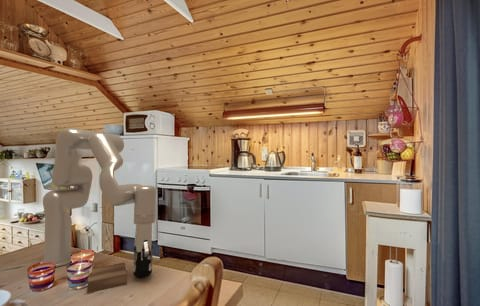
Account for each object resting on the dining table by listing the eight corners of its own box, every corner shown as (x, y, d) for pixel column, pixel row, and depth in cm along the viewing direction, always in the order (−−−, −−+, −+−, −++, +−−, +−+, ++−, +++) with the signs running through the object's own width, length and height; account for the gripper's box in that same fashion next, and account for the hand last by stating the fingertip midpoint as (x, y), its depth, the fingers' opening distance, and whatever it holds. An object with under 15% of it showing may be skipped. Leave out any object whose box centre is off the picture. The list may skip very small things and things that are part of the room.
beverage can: (145, 280, 88) (146, 246, 89) (129, 277, 89) (130, 244, 90) (155, 272, 95) (156, 240, 95) (140, 270, 96) (141, 239, 96)
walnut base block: (89, 278, 92) (89, 268, 92) (124, 271, 98) (124, 262, 98) (87, 292, 81) (87, 282, 81) (126, 284, 87) (127, 274, 87)
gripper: (131, 214, 99) (130, 259, 98) (136, 225, 83) (134, 278, 83) (151, 213, 102) (149, 256, 101) (159, 222, 87) (157, 273, 86)
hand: (142, 266), depth 92 cm, fingers closed on beverage can, 6 cm apart
